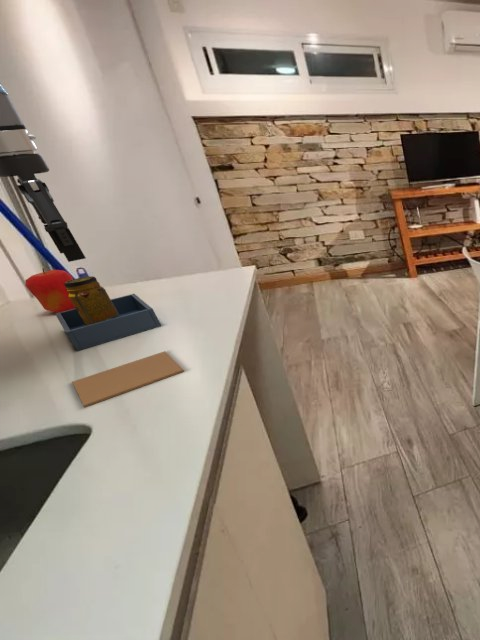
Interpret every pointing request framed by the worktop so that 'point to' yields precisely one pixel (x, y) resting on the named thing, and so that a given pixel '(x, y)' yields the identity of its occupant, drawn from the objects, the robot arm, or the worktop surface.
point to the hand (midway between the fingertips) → (72, 255)
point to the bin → (109, 323)
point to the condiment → (91, 300)
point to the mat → (125, 378)
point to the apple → (51, 290)
